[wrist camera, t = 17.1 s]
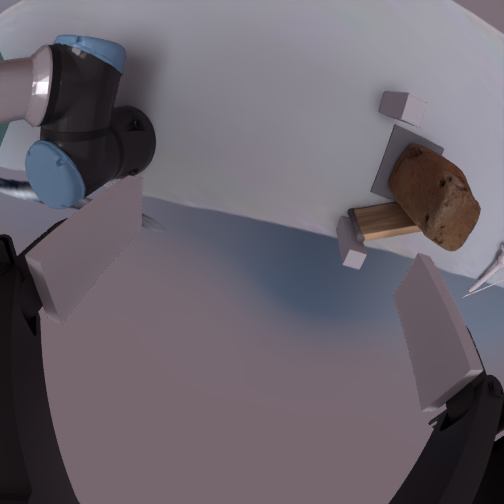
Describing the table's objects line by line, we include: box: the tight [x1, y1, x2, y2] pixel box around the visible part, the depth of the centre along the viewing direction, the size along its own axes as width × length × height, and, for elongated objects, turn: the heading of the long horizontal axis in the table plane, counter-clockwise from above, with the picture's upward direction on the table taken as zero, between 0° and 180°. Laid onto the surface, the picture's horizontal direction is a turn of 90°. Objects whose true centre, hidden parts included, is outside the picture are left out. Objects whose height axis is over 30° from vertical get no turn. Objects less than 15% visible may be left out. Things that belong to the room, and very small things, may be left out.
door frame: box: [336, 91, 428, 269], centre depth 40 cm, size 3×28×12 cm, turn 168°
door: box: [348, 203, 422, 243], centre depth 43 cm, size 2×18×10 cm, turn 107°
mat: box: [371, 125, 444, 202], centre depth 43 cm, size 11×14×1 cm
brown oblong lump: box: [389, 144, 481, 251], centre depth 35 cm, size 11×8×20 cm
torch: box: [463, 245, 504, 297], centre depth 47 cm, size 6×9×25 cm
